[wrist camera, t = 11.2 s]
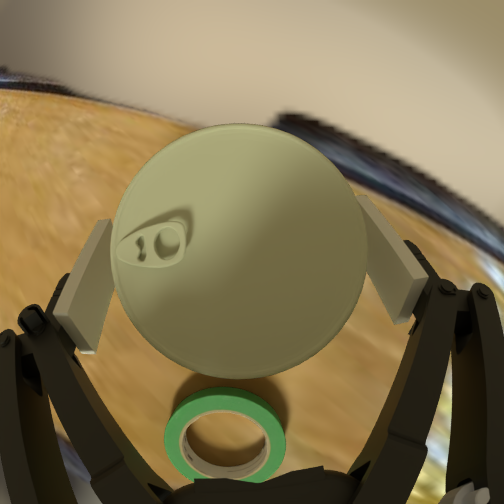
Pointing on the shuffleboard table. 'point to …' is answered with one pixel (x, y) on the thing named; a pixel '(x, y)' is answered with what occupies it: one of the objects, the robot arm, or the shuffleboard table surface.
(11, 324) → the shuffleboard table surface
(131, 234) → the can
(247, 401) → the tape roll
